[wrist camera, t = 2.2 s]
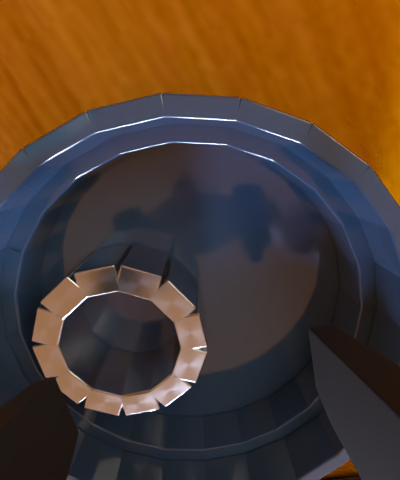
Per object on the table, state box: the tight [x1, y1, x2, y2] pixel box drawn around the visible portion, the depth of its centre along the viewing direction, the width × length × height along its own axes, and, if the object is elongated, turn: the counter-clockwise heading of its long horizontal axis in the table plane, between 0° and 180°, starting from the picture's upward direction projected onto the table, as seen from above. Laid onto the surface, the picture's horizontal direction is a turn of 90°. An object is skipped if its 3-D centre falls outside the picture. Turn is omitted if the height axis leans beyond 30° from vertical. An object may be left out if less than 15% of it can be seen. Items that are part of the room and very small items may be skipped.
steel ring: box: [31, 243, 208, 416], centre depth 12 cm, size 6×6×3 cm
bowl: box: [0, 93, 400, 480], centre depth 12 cm, size 15×15×4 cm
